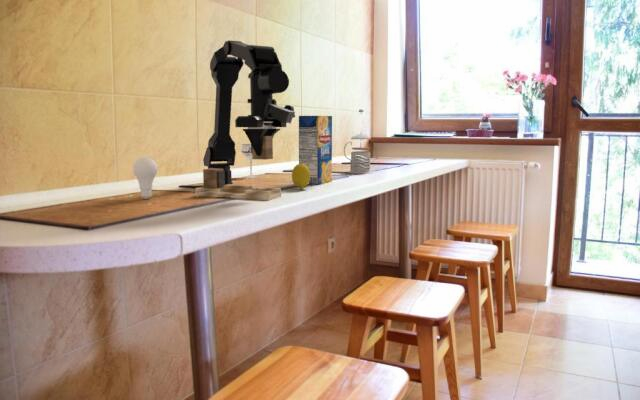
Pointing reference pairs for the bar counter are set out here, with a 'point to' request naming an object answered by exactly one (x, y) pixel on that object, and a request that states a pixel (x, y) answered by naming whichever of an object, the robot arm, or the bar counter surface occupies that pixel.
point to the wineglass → (247, 153)
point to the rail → (248, 193)
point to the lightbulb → (145, 174)
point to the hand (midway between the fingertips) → (262, 155)
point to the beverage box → (316, 147)
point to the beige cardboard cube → (264, 149)
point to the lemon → (301, 175)
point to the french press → (354, 159)
